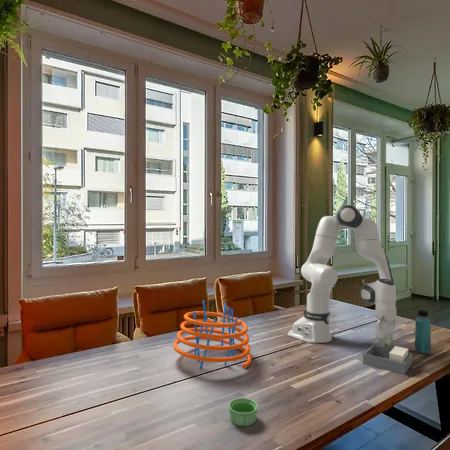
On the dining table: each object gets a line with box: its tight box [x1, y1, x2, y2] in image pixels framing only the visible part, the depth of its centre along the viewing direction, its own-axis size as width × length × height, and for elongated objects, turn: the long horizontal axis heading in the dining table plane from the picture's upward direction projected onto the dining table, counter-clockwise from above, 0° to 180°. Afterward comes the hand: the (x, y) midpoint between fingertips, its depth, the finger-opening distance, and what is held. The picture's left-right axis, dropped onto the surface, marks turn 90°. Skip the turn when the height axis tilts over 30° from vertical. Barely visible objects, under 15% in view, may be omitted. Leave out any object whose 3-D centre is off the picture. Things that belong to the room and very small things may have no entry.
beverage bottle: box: [414, 309, 432, 354], centre depth 161 cm, size 6×7×20 cm
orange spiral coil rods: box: [172, 300, 253, 369], centre depth 153 cm, size 34×35×24 cm
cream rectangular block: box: [389, 345, 409, 363], centre depth 145 cm, size 5×10×6 cm, turn 141°
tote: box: [362, 344, 413, 375], centre depth 148 cm, size 16×14×5 cm
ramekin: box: [228, 397, 259, 427], centre depth 108 cm, size 9×9×4 cm
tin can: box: [376, 332, 394, 349], centre depth 163 cm, size 6×6×8 cm
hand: (385, 343), depth 163 cm, fingers closed on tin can, 6 cm apart
